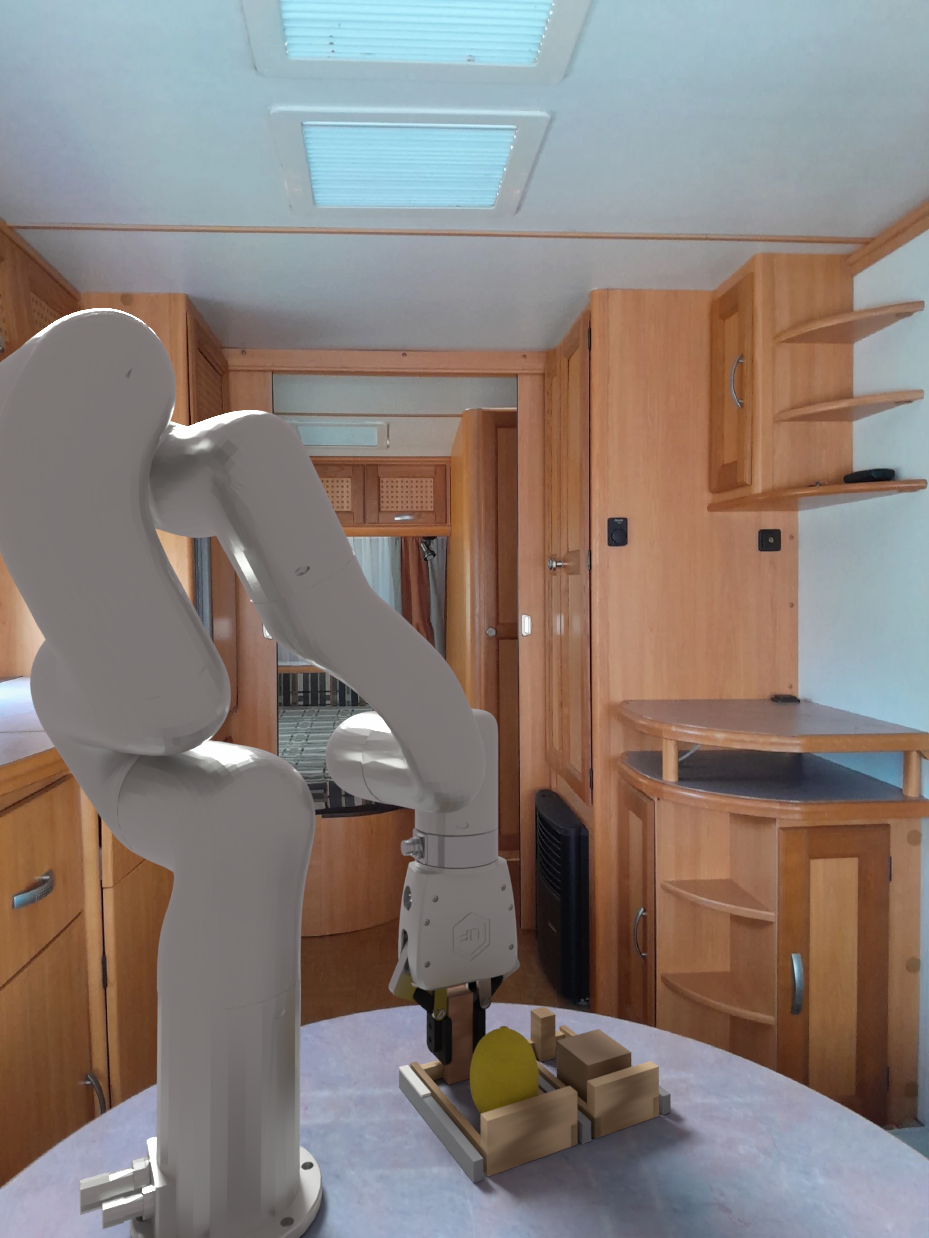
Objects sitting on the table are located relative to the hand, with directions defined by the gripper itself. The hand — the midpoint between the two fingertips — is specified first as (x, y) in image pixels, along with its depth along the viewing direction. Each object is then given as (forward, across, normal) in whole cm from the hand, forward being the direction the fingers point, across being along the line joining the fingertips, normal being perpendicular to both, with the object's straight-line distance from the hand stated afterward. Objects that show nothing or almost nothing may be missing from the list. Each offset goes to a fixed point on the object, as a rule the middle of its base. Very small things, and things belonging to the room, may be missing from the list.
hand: (456, 1051), depth 71 cm
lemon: (+2, 0, -8) cm, 9 cm away
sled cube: (+2, +9, -6) cm, 11 cm away
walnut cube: (+2, +9, -8) cm, 12 cm away
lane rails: (+2, 0, -6) cm, 6 cm away
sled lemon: (+2, 0, -6) cm, 6 cm away
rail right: (+2, +13, -7) cm, 15 cm away
